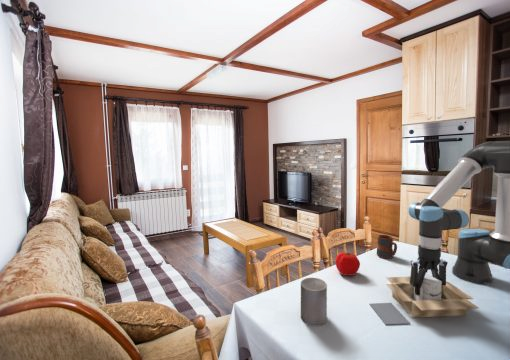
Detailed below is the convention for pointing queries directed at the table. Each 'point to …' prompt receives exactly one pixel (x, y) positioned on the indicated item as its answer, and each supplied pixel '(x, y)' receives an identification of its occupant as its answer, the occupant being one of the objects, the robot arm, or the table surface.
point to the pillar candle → (313, 301)
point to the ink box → (430, 288)
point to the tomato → (347, 263)
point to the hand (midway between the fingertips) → (426, 301)
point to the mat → (389, 314)
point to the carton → (450, 306)
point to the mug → (386, 247)
